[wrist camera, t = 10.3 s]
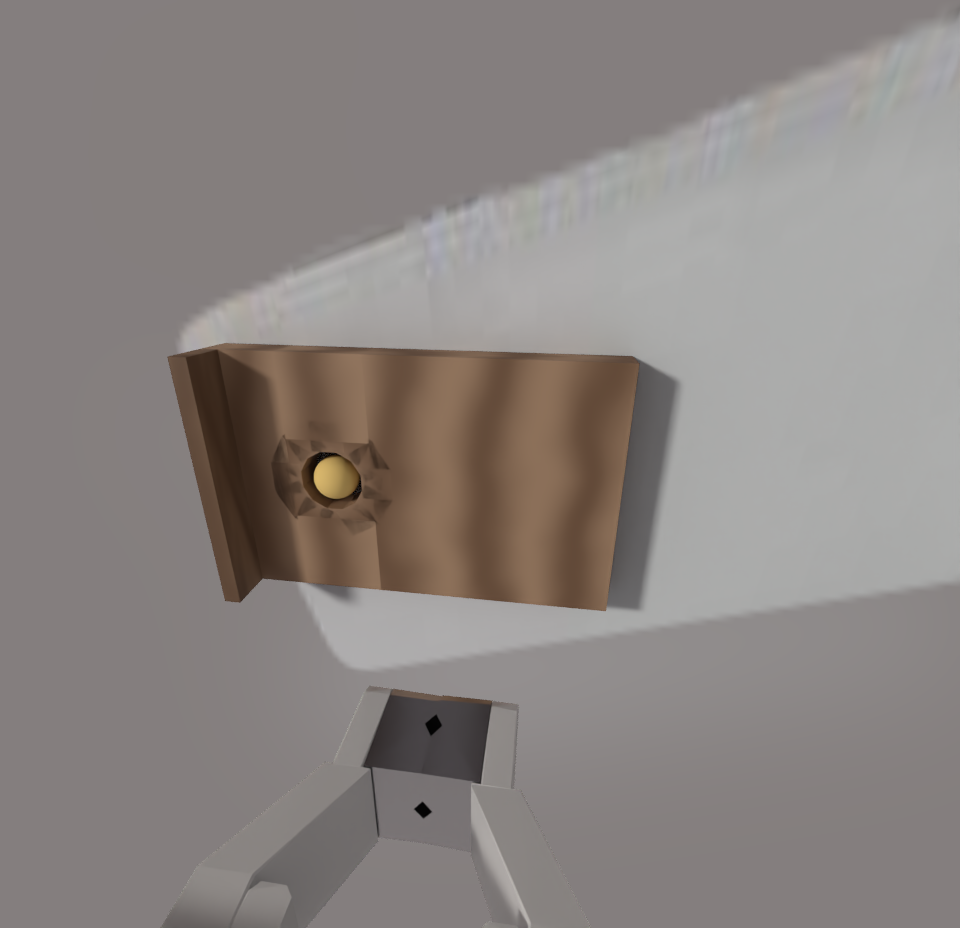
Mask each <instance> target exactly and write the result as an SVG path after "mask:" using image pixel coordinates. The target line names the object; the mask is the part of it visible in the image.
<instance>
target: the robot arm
mask: <svg viewBox="0 0 960 928" xmlns="http://www.w3.org/2000/svg"><path fill="white" fill-rule="evenodd" d="M518 712H519V707H518V704H511V703H503V702H495V701H493V702H492V701H490V700H480V699H471V698H461V697H452V696H437V695H430V694H424V693H416V692H410V691H404V690H397V689H389V688H381V687H373V686H369V687H368V688H367V689H366V691H365V692H364V693H363V695H362V698H361V700H360V702H359V705H358V707H357V709H356V712H355V714H354V716H353V718H352V720H351V723H350V725H349V727H348V729H347V732H346V734H345V736H344V738H343V741H342V743H341V745H340V748H339V750H338V752H337V754H336V757H335V759H334V761H333V763H330V762H325V763H323V764H322V765H321V766H320V767H318V768H317V769H316V770H315V771H313V772H312V773H311V774H310V775H309V776H307V777H306V778H305V779H304V780H302V781H301V782H300V783H299V784H298V785H296V786H295V787H294V788H293V789H292V790H290V791H289V792H288V793H286V794H285V795H284V796H283V797H281V798H280V799H279V800H278V801H277V802H275V803H274V804H273V805H272V806H270V807H269V808H268V809H267V810H265V811H264V812H263V813H262V814H261V815H259V816H258V817H257V818H256V819H255V820H253V821H252V822H251V823H249V824H248V825H247V826H246V827H245V828H243V829H242V830H241V831H240V832H238V833H237V834H236V835H235V836H234V837H232V838H231V839H230V840H229V841H227V842H226V843H225V844H224V845H223V846H221V847H220V848H219V849H218V850H216V851H215V852H214V853H213V854H211V855H210V856H209V857H208V858H207V859H205V860H204V861H203V862H202V863H200V864H199V865H198V866H197V867H196V869H195V871H194V872H193V874H192V876H191V878H190V879H189V881H188V883H187V884H186V886H185V888H184V889H183V891H182V893H181V894H180V896H179V898H178V899H177V901H176V903H175V904H174V906H173V908H172V910H171V911H170V913H169V915H168V916H167V918H166V920H165V921H164V923H163V925H162V927H161V928H306V927H307V926H308V925H309V924H310V922H311V921H312V920H313V919H314V918H315V916H316V915H317V914H318V913H319V912H320V910H321V909H322V908H323V907H324V906H325V904H326V903H327V902H328V901H329V900H330V898H331V897H332V896H333V895H334V894H335V892H336V891H337V890H338V889H339V887H340V886H341V885H342V884H343V883H344V882H345V880H346V879H347V878H348V877H349V876H350V874H351V873H352V872H353V871H354V870H355V868H356V867H357V866H358V865H359V864H360V862H361V861H362V860H363V859H364V858H365V856H366V855H367V854H368V853H369V852H370V850H371V849H372V848H373V847H374V846H375V844H376V843H377V842H378V837H379V838H386V839H394V840H403V841H410V842H418V843H425V844H431V845H436V846H441V847H446V848H451V849H456V850H462V851H467V852H471V857H472V860H473V863H474V866H475V869H476V872H477V875H478V879H479V881H480V884H481V888H482V891H483V894H484V897H485V900H486V903H487V906H488V909H489V912H490V915H491V918H492V922H489V921H488V922H487V923H486V924H485V925H484V926H483V927H482V928H591V927H590V925H589V923H588V921H587V919H586V917H585V915H584V913H583V911H582V909H581V907H580V905H579V903H578V901H577V899H576V897H575V895H574V893H573V892H572V889H571V887H570V885H569V883H568V881H567V879H566V878H565V875H564V873H563V871H562V870H561V868H560V866H559V864H558V862H557V860H556V858H555V856H554V854H553V852H552V850H551V848H550V846H549V844H548V842H547V840H546V838H545V836H544V834H543V832H542V830H541V828H540V827H539V824H538V822H537V820H536V819H535V816H534V814H533V812H532V810H531V809H530V807H529V805H528V803H527V801H526V799H525V797H524V795H523V793H522V791H521V790H518V789H514V780H515V764H516V746H517V729H518Z"/></svg>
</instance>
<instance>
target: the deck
mask: <svg viewBox="0 0 960 928" xmlns="http://www.w3.org/2000/svg"><path fill="white" fill-rule="evenodd" d="M168 362H169V366H170V369H171V374H172V379H173V383H174V387H175V391H176V395H177V400H178V404H179V408H180V412H181V416H182V421H183V425H184V429H185V433H186V437H187V441H188V446H189V450H190V454H191V459H192V463H193V467H194V471H195V475H196V480H197V483H198V488H199V492H200V496H201V501H202V505H203V509H204V513H205V518H206V522H207V526H208V529H209V534H210V539H211V543H212V547H213V551H214V556H215V560H216V564H217V568H218V572H219V576H220V580H221V585H222V589H223V593H224V598H225V601H231V602H241V601H242V600H243V599H244V598H245V597H246V596H247V595H248V594H249V592H250V591H251V590H252V589H253V588H254V587H255V586H256V585H257V584H258V583H259V582H260V581H261V580H262V578H264V579H274V580H285V581H295V582H306V583H316V584H327V585H337V586H348V587H358V588H369V589H379V590H390V591H400V592H411V593H421V594H432V595H442V596H453V597H463V598H474V599H484V600H494V601H505V602H515V603H526V604H536V605H547V606H557V607H568V608H578V609H589V610H599V611H606V607H607V599H608V592H609V585H610V577H611V570H612V563H613V555H614V548H615V540H616V533H617V526H618V518H619V511H620V503H621V496H622V489H623V481H624V474H625V467H626V459H627V452H628V444H629V437H630V430H631V422H632V415H633V407H634V400H635V393H636V385H637V378H638V370H639V363H638V362H637V360H636V359H635V358H634V357H633V356H607V355H576V354H544V353H513V352H482V351H450V350H419V349H387V348H356V347H325V346H293V345H262V344H230V343H224V344H219V345H215V346H211V347H207V348H202V349H198V350H194V351H190V352H185V353H181V354H177V355H173V356H169V357H168ZM320 452H332V453H337V454H339V455H341V456H342V457H344V458H346V459H348V460H349V461H351V462H352V464H353V465H354V467H355V468H356V470H357V471H358V473H359V474H360V476H361V486H362V491H361V492H359V493H357V494H350V495H349V496H347V497H344V498H340V499H333V498H329V497H326V496H325V495H323V494H322V493H321V492H320V491H319V490H318V489H317V487H316V485H315V482H314V472H315V469H316V467H317V465H318V464H317V457H318V455H319V453H320Z"/></svg>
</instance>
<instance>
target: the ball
mask: <svg viewBox="0 0 960 928" xmlns="http://www.w3.org/2000/svg"><path fill="white" fill-rule="evenodd" d="M359 480H360V474H359V473H358V471H357V470H356V468H355V467H354V465H353V464H352V462H351V461H349V460H348V459H346V458H344V457H342V456H341V455H331V456H328V457H326V458H324V459H323V460H322V461H320V463H319V464H318V465H317V467H316V469H315V472H314V482H315V485H316V487H317V489H318V490H319V491H320V492H321V493H322V494H323V495H325V496H326V497H329V498H333V499H340V498H344V497H347V496H349V495H350V494H352V493H353V492H354V491H355V489H356V488H357V486H358V484H359Z"/></svg>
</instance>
